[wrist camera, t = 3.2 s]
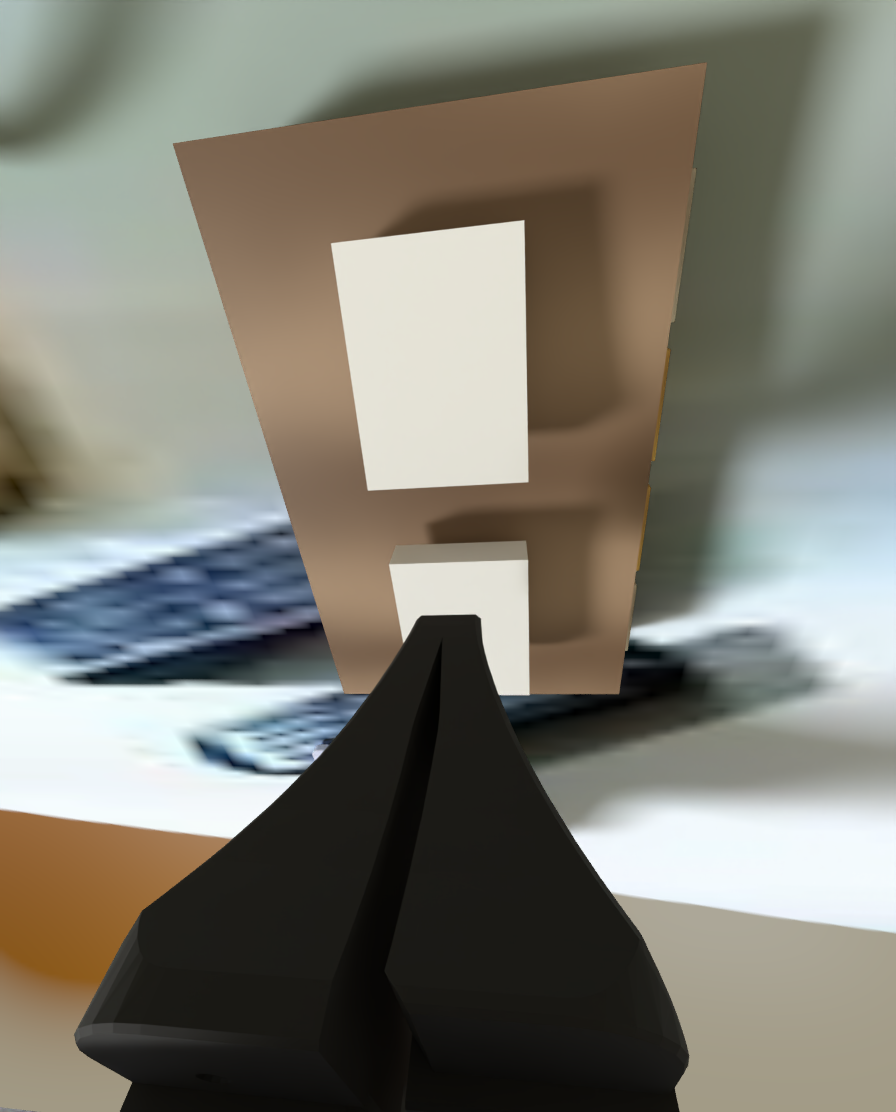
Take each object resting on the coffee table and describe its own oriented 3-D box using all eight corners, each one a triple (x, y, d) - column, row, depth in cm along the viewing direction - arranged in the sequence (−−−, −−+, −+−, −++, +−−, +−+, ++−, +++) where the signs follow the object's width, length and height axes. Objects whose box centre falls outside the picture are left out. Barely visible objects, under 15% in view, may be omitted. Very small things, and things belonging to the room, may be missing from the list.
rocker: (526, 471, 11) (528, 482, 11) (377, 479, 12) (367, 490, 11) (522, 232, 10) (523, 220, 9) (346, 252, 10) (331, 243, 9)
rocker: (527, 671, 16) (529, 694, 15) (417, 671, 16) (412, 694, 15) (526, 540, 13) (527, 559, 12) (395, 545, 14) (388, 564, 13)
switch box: (611, 635, 19) (631, 707, 16) (362, 638, 21) (340, 706, 18) (672, 100, 11) (739, 48, 8) (240, 162, 12) (154, 138, 9)
